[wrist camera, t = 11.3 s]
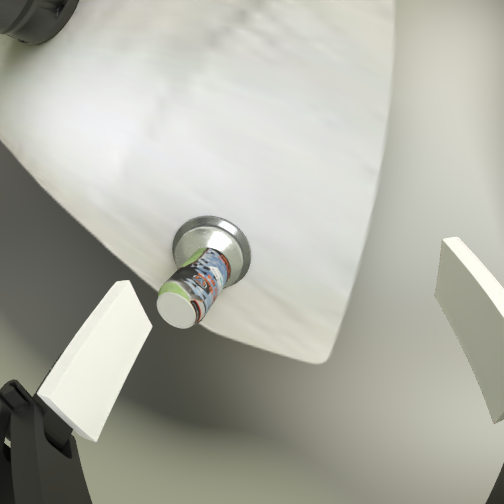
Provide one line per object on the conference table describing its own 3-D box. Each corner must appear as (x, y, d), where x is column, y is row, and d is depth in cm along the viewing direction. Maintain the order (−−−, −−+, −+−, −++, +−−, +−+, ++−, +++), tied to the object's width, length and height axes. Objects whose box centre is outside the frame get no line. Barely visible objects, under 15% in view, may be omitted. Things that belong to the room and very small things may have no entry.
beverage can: (231, 283, 43) (213, 342, 33) (183, 275, 43) (154, 329, 33) (234, 246, 40) (215, 301, 30) (183, 238, 40) (149, 287, 30)
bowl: (163, 224, 42) (156, 231, 40) (239, 208, 40) (236, 215, 38) (188, 289, 48) (184, 298, 46) (259, 280, 45) (257, 290, 43)
